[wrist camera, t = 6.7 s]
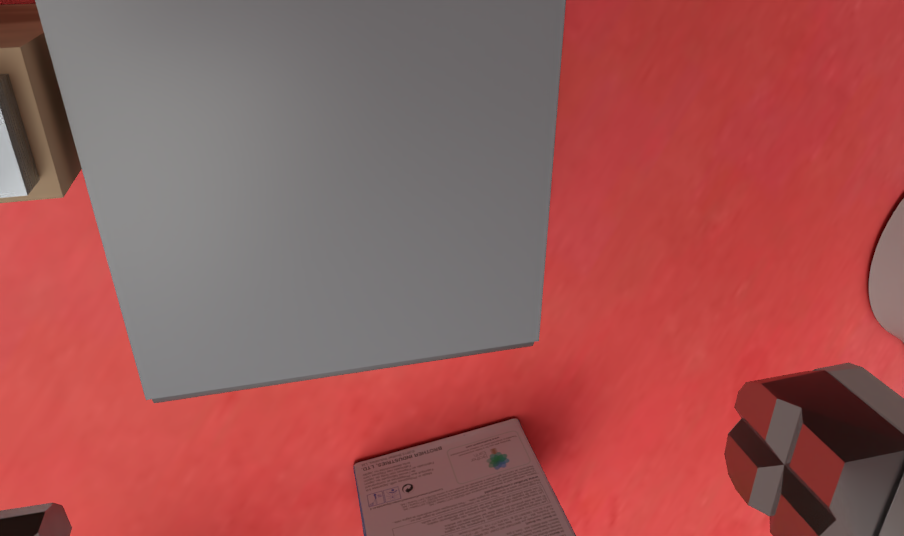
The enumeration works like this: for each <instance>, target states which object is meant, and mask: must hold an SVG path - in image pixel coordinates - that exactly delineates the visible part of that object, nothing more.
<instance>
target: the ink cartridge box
mask: <svg viewBox="0 0 904 536" xmlns="http://www.w3.org/2000/svg"><path fill="white" fill-rule="evenodd" d="M354 474H355V479H356V485H357V492H358V498H359V505H360V512H361V519H362V526H363V533H364V536H576V535H575V533H574V531H573V529H572V527H571V525H570V523H569V521H568V519H567V517H566V515H565V513H564V511H563V509H562V507H561V505H560V503H559V501H558V499H557V497H556V495H555V493H554V491H553V489H552V487H551V485H550V483H549V482H548V480H547V477H546V476H545V474H544V471H543V469H542V467H541V465H540V463H539V461H538V459H537V457H536V455H535V453H534V451H533V449H532V447H531V445H530V443H529V441H528V439H527V437H526V435H525V433H524V431H523V429H522V427H521V425H520V422H519V420H518V419H515V418H514V419H510V420H507V421H503V422H500V423H496V424H493V425H489V426H486V427H482V428H479V429H475V430H472V431H468V432H465V433H461V434H458V435H454V436H451V437H447V438H444V439H440V440H436V441H433V442H429V443H426V444H422V445H418V446H415V447H411V448H407V449H404V450H400V451H397V452H393V453H390V454H387V455H383V456H380V457H376V458H373V459H369V460H365V461H361V462H358V463H356V464H354Z"/></svg>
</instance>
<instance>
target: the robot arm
mask: <svg viewBox="0 0 904 536" xmlns="http://www.w3.org/2000/svg"><path fill="white" fill-rule="evenodd" d="M869 299H870V304H871V308H872V311H873V313H874V315H875V317H876V319H877V321H878V322H879V323H880V325H881V326H882V327H883V328H884V329H885V330H886V331H888V332H889V333H891V334H892V335H894V336H895V337H897V338H899V339H900V340H901V341H902V342H903V343H904V198H903V200H902V201H901V202H900V204H899V205H898V207H897V208H896V210H895V211H894V213H893V215H892V216H891V218H890V220H889V221H888V223H887V225H886V227H885V229H884V231H883V233H882V235H881V237H880V240H879V242H878V245H877V247H876V250H875V253H874V256H873V260H872V264H871V269H870V275H869ZM735 409H736V411H737V412H738V414H739V415H740V417H741V418H742V419H741V420H740V421H739V422H738V423H737V424H736V425H735V427H734V428H733V429H732V430H731V431H730V432H729V433H728V437H727V442H726V448H725V453H724V455H725V460H726V465H727V470H728V475H729V477H730V479H731V481H732V483H733V485H734V487H735V489H736V490H737V492H738V493H739V494H740V495H741V497H742V498H743V499H744V501H745V502H746V503H747V504H748V505H749V506H751V507H753V508H755V509H757V510H759V511H761V512H763V513H765V514H766V515H768V516H770V533H771V534H772V535H773V536H904V399H903V398H902V397H901V396H900V395H898V394H897V393H896V392H894V391H893V390H892V389H890V388H889V387H888V386H886V385H885V384H884V383H882V382H881V381H880V380H879V379H877V378H876V377H875V376H873V375H872V374H871V373H869V372H868V371H867V370H865V369H864V368H863V367H860V366H857V365H854V364H851V363H844V364H839V365H834V366H829V367H823V368H818V369H814V370H813V371H805V372H799V373H794V374H788V375H783V376H777V377H772V378H766V379H761V380H755V381H750V382H746V383H745V384H744V385H743V387H742V388H741V389H740V390H739V392H738V395H737V399H736V403H735ZM71 529H72V527H71V524H70V522H69V520H68V517H67V515H66V513H65V510H64V508H63V506H62V505H59V504H56V503H48V504H42V505H35V506H28V507H22V508H15V509H9V510H2V511H0V536H70V533H71Z"/></svg>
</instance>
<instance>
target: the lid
mask: <svg viewBox="0 0 904 536" xmlns="http://www.w3.org/2000/svg"><path fill="white" fill-rule="evenodd" d="M35 2H36V6H37V9H38V13H39V16H40V20H41V24H42V27H43V31H44V34H45V38H46V42H47V45H48V49H49V52H50V56H51V60H52V63H53V67H54V70H55V74H56V78H57V81H58V85H59V88H60V92H61V96H62V99H63V103H64V106H65V110H66V114H67V117H68V121H69V124H70V128H71V132H72V135H73V139H74V142H75V146H76V150H77V153H78V157H79V160H80V164H81V168H82V171H83V175H84V178H85V182H86V186H87V189H88V193H89V196H90V200H91V204H92V207H93V211H94V214H95V218H96V222H97V225H98V229H99V232H100V236H101V240H102V243H103V247H104V250H105V254H106V258H107V261H108V265H109V268H110V272H111V276H112V279H113V283H114V286H115V290H116V294H117V297H118V301H119V304H120V308H121V312H122V315H123V319H124V322H125V326H126V330H127V333H128V337H129V340H130V344H131V348H132V351H133V355H134V358H135V362H136V366H137V369H138V373H139V376H140V380H141V384H142V387H143V391H144V394H145V398H146V400H149V399H152V400H153V402H154V403H159V402H166V401H172V400H179V399H186V398H192V397H199V396H205V395H212V394H219V393H225V392H232V391H238V390H245V389H251V388H258V387H265V386H271V385H278V384H284V383H291V382H298V381H304V380H311V379H317V378H324V377H331V376H337V375H344V374H350V373H357V372H364V371H370V370H377V369H383V368H390V367H397V366H403V365H410V364H416V363H423V362H429V361H436V360H443V359H449V358H456V357H462V356H469V355H476V354H482V353H489V352H495V351H502V350H509V349H515V348H522V347H528V346H533V344H534V342H535V341H539V332H540V320H541V307H542V294H543V282H544V269H545V257H546V244H547V231H548V219H549V206H550V193H551V181H552V168H553V156H554V143H555V130H556V118H557V105H558V93H559V80H560V67H561V55H562V42H563V30H564V17H565V4H566V0H35Z"/></svg>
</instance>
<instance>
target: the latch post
mask: <svg viewBox="0 0 904 536" xmlns="http://www.w3.org/2000/svg"><path fill="white" fill-rule="evenodd" d="M0 74H9V77H10V81H11V84H12V87H13V91H14V94H15V97H16V101H17V104H18V107H19V111H20V114H21V117H22V121H23V124H24V127H25V131H26V134H27V138H28V141H29V144H30V148H31V151H32V154H33V158H34V161H35V164H36V168H37V171H38V174H39V178H40V180H39V181H38V183H37V184H36V185H35V187H34V188H33V189H32V191H31V192H30V193H29V194H28V196H18V197H6V198H0V203H6V202H17V201H28V200H40V199H51V198H62V197H64V195H65V194H66V192H67V191H68V189H69V188H70V186H71V184H72V183H73V181H74V180H75V178H76V177H77V175H78V174H79V172H80V170H81V169H82V168H81V164H80V160H79V157H78V153H77V150H76V146H75V142H74V139H73V135H72V132H71V128H70V124H69V121H68V117H67V114H66V110H65V106H64V103H63V99H62V96H61V92H60V88H59V85H58V81H57V78H56V74H55V70H54V67H53V63H52V60H51V56H50V52H49V49H48V45H47V42H46V38H45V34H44V31H43V27H42V24H41V20H40V16H39V13H38V9H37V6H36V4H9V5H0Z"/></svg>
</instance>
